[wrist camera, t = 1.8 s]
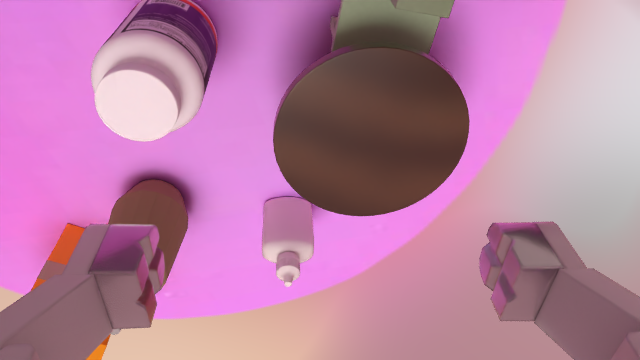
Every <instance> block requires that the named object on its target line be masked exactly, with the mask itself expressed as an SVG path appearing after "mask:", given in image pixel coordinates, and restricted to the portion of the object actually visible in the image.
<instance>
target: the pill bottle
mask: <svg viewBox="0 0 640 360" xmlns="http://www.w3.org/2000/svg"><path fill="white" fill-rule="evenodd" d="M217 47H218V40H217V34H216V30H215V27H214V25H213V23H212V21H211V19H210V18H209V16H208V15H207V14H206V13H205V11H204V10H203V9H202V8H201V7H200V6H198V5H197V4H196V3H194V2H193V1H191V0H142V1H141V2H139V3H138V4H137V5H136V6H135V7H134V8H133V9H132V11H131V12H130V13H129V14H128V16H127V17H126V18H125V19H124V21H123V22H122V23H121V24H120V26H119V27H118V28H117V29H116V30H115V32H114V33H113V34H112V35H111V36H110V38H109V39H108V40H107V41H106V42H105V43H104V44H103V46H102V47H101V48H100V50H99V51H98V52H97V54H96V56H95V58H94V60H93V64H92V69H91V82H92V87H93V90H94V93H95V106H96V110H97V112H98V114H99V116H100V118H101V119H102V121H103V122H104V123H105V125H106V126H107V127H109V128H110V129H111V130H112V131H113V132H115V133H116V134H118V135H120V136H122V137H124V138H127V139H130V140H134V141H153V140H156V139H159V138H161V137H163V136H165V135H166V134H168V133H169V132H172V131H175V130H177V129H179V128H181V127H183V126H184V125H186V124H187V123H188V122H190V121H191V120H192V119H193V118H194V116H195V115H196V114H197V112H198V110H199V109H200V106H201V104H202V101H203V98H204V94H205V91H206V87H207V84H208V81H209V77H210V74H211V71H212V67H213V64H214V61H215V57H216V53H217Z"/></svg>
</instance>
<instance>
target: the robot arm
mask: <svg viewBox="0 0 640 360" xmlns="http://www.w3.org/2000/svg"><path fill="white" fill-rule="evenodd" d="M487 237H488V239H489V241H490V242H489V243H488V244H487V245H486V246H484V247H483V248H482V252H481V255H480V273H481V277H482V280H483V282H484V285H485V286H487V287H488V288H490V289H491V290H492V291H493V294H492V297H491V301H492V303H493V305H494V308H495V310H496V312H497V315H498V317H499V319H500V321H535V322H534V323H535V324H536V325H537V326H538V327H539V328H540V329H541V330H542V331H544V332H545V333H546V334H547V335H548V336H549V337H550V338H551V339H552V340H553V341H555V343H557V344H558V345H559V346H560V347H561V348H562V349H563V350H564V351H565V352H566V353H567V354H569V355H570V356H571V357H572V358H573V359H574V360H640V297H639V296H637V295H636V294H634V293H632V292H631V291H629V290H627V289H626V288H624V287H622V286H621V285H619V284H618V283H616V282H615V281H613V280H611V279H610V278H608V277H606V276H605V275H603V274H601V273H600V272H598V271H597V270H595V269H587V267H586V266H585V265H584V263H583V262H582V260H581V259H580V257H579V256H578V254H577V253H576V251H575V250H574V249H573V247H572V245H571V244H570V243H569V241H568V240H567V238H566V237H565V235H564V234H563V232H562V231H561V230H560V228H559V227H558V225H557V224H555V223H554V222H532V223H529V222H528V223H492V225H491V226H490V227H489V230H488V233H487ZM159 238H160V236H159V232H158V228H157V226H155V225H144V224H112V225H111V224H90V225H89V226H87V227H86V228H85V230H84V232H83V234H82V236H81V238H80V239H79V241H78V243H77V245H76V247H75V249H74V251H73V253H72V255H71V257H70V259H69V261H68V263H67V265H66V267H65V269H64V271H63V273H62V275H54V276H52V277H51V278H49V279H48V280H47V281H45V282H44V283H42V284H41V285H39V286H38V287H36V288H35V289H33V290H32V291H30V292H29V293H28V294H26V295H25V296H23V297H22V298H20V299H19V300H17V301H16V302H14V303H13V304H12V305H10V306H9V307H7V308H6V309H4V310H3V311H1V312H0V360H86V359H87V358H88V357H89V355H90V354H91V353H92V352H93V351H94V350H95V349H96V348H97V347H98V346H99V345H100V344H101V343H102V342H103V341H104V340H105V339H106V338H107V337H108V336H109V335H110V334H111V333H112V332H113V330H112V329H125V328H126V329H127V328H148V327H151V324H152V320H153V316H154V313H155V309H156V306H157V302H156V298H155V294H156V293H157V292H158V291H160V290H161V288H162V284H163V280H164V270H165V265H164V255H163V251H162V250H161V249H160V248H159V247H158V246H157V245H158V241H159Z"/></svg>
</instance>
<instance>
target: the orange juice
mask: <svg viewBox="0 0 640 360" xmlns="http://www.w3.org/2000/svg"><path fill="white" fill-rule="evenodd" d="M84 230H85V228H82V227H78V226H75V225H72V224H67V225H66V227H65V229H64V231H63V233H62V235H61V236H60V238H59V240H58V242H57V244H56V246H55V247H54V249H53V251H52V253H51V255H50V257H49V258H48V260H47V261H46V263H45V265H44V267H43V268H42V270H41V272H40V274H39V276H38V277H37V280H36V282H35V284H34V286H33V288H32V289H31V291H32V290H33V289H35V288H36V287H38V286H39V285H41V284H42V283H44V282H45V281H47V280H48V279H49V278H51V277H52V276H54V275H62V273H63V271H64V269H65V267H66V265H67V263H68V261H69V259H70V257H71V255H72V253H73V251H74V249H75V247H76V245H77V243H78V241H79V239H80V238H81V236H82V234H83V232H84ZM110 335H111V334H110ZM110 335H109V336H108V337H107V338H106V339H105V340H104V341H103V342H102V343H101V344H100V345H99V346H98V347H97V348H96V349H95V350H94V351H93V352H92V353H91V354H90V355H89V357H88V358H87V359H86V360H101V359H102V356H103V354H104V351H105V349H106V346H107V343H108V340H109V337H110Z"/></svg>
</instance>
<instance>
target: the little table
mask: <svg viewBox="0 0 640 360" xmlns="http://www.w3.org/2000/svg"><path fill="white" fill-rule="evenodd" d="M468 133H469V114H468V108H467V104H466V100H465V98H464V96H463V93H462V91H461V89H460V87H459V86H458V84H457V83H456V81H455V80H454V78H453V77H452V75H451V74H450V73H449V72H448V71H447V69H446V68H445V67H444V66H443V65H442V64H440V63H439V62H438V61H437V60H435V59H434V58H433V57H431V56H429V55H428V54H426V53H424V52H422V51H420V50H418V49H415V48H413V47H410V46H406V45H402V44H398V43H391V42H366V43H359V44H353V45H350V46H347V47H343V48H340V49H338V50H335V51H333V52H331V53H328V54H326V55H325V56H323V57H321V58H320V59H318V60H316V61H315V62H313V63H312V64H311V65H309V66H308V67H307V68H306V69H304V70H303V71H302V72H301V73H300V74H299V75H298V76H297V77H296V78H295V80H294V81H293V82H292V83H291V85H290V86H289V87H288V89H287V90H286V92H285V94H284V96H283V98H282V99H281V102H280V104H279V107H278V109H277V113H276V117H275V122H274V134H273V143H274V152H275V156H276V161H277V163H278V166H279V168H280V171H281V172H282V174H283V176H284V177H285V179H286V181H287V182H288V183H289V184H290V186H291V187H292V188H293V189H294V190H295V191H296V192H297V193H298V194H299V195H300V196H302V197H303V198H305V199H306V200H307V201H309V202H310V203H312V204H314V205H316V206H318V207H320V208H323V209H325V210H328V211H331V212H334V213H338V214H344V215H350V216H374V215H381V214H386V213H390V212H394V211H397V210H400V209H403V208H406V207H408V206H410V205H412V204H414V203H416V202H418V201H420V200H422V199H423V198H425V197H427V196H428V195H429V194H431V193H432V192H433V191H435V190H436V189H437V188H438V187H439V186H440V185H441V184H442V183H443V182H444V181H445V180H446V179H447V178H448V177H449V176H450V174H451V173H452V172H453V170H454V169H455V167H456V166H457V164H458V162H459V160H460V159H461V157H462V155H463V152H464V149H465V146H466V143H467V138H468Z"/></svg>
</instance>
